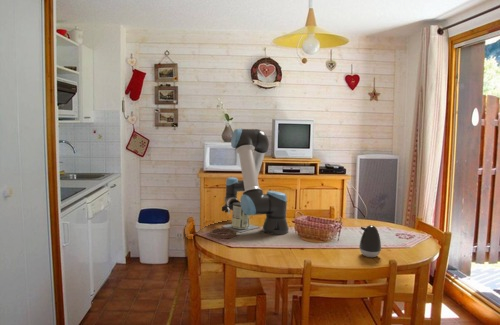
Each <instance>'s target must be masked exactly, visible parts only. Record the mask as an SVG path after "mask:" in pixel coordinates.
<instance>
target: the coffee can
mask: <svg viewBox="0 0 500 325" xmlns="http://www.w3.org/2000/svg"><path fill="white" fill-rule="evenodd" d="M240 202H241V201H240ZM240 202H235V203H233V210H232V215H231V216H232V218H231V224H232V227H233V228H237V229H247V228H249V224H250V215H246V214H245V213H244V212H243V211H242V208H241V204H240Z"/></svg>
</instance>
